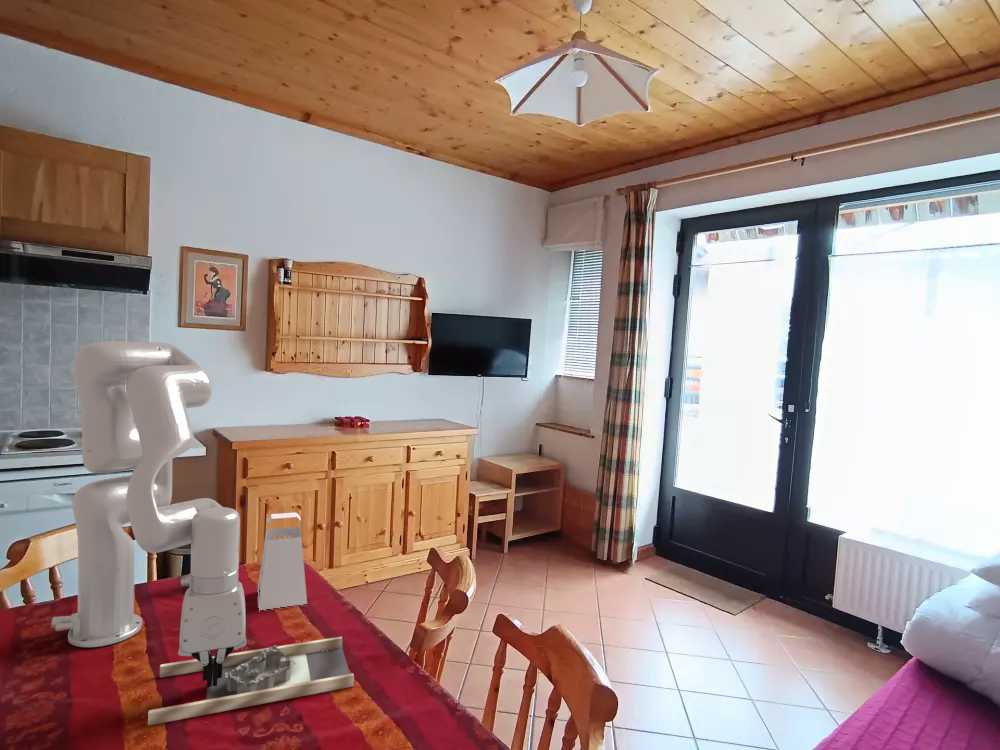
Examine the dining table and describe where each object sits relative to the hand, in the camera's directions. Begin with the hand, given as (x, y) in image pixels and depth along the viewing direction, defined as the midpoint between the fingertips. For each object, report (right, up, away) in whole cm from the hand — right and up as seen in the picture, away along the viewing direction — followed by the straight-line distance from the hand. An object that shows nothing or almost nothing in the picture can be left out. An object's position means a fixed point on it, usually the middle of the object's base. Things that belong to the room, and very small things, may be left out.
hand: (212, 682), depth 102 cm
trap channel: (+7, -1, +3) cm, 7 cm away
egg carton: (+8, -2, +2) cm, 8 cm away
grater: (-1, +1, +36) cm, 36 cm away
